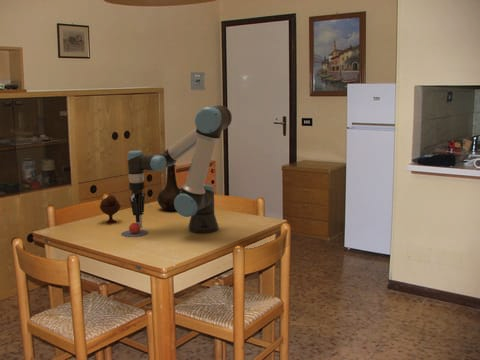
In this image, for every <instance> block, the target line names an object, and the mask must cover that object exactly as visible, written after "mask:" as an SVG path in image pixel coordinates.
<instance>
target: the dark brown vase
mask: <svg viewBox="0 0 480 360" xmlns="http://www.w3.org/2000/svg"><path fill="white" fill-rule="evenodd" d="M175 167H177V165H176V164H174V165H172V166H169V167H166V183H165V188H164V189H163V190H161V191H160V192H159V193H158V196H157V203H158V205H159V207H160V208H161V209H163V210H164V211H168V212H169V211H170V212H175V211H176V212H177V210H176V209H175V206H174V200H175V198H176V197H177V195H179V194H180V192H181V188H179V186H178V184H177V178H176V168H175Z"/></svg>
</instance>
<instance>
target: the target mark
mask: <svg viewBox="0 0 480 360" xmlns="http://www.w3.org/2000/svg"><path fill="white" fill-rule="evenodd" d="M148 233H149V232H148V231H147V230H144V229H140V231H139V232H138V233H137V234H132V233H131V232H130V231H129V230H126V231H123V232H121V233H120V234H121V236H123V237H125V238H126V237H127V238H137V237H142V236H145V235H147V234H148Z"/></svg>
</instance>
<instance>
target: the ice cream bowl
mask: <svg viewBox="0 0 480 360" xmlns="http://www.w3.org/2000/svg"><path fill="white" fill-rule="evenodd" d="M121 206H122V205H121V204H120V201H118V200H117V198H116V197H115V195H111V194H110V195H108V196H107V197H105V198H103V199H102V200H101V202H100V205H99V209H100V211H101V212H102V213H103V214H105V215H107V216H108V220H106V221H105V223H106V224H115V223H117V221H116V219H113V215H115V214H116V213H118V212H119V211H120V209H121Z"/></svg>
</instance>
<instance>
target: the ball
mask: <svg viewBox="0 0 480 360" xmlns="http://www.w3.org/2000/svg"><path fill="white" fill-rule="evenodd" d="M140 230H141V228H140V226H139V224H137V223H136V222H132V223H130V224H129V226H128V231H130V232H131V233H132V234H137V233H138V232H139V231H140Z"/></svg>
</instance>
